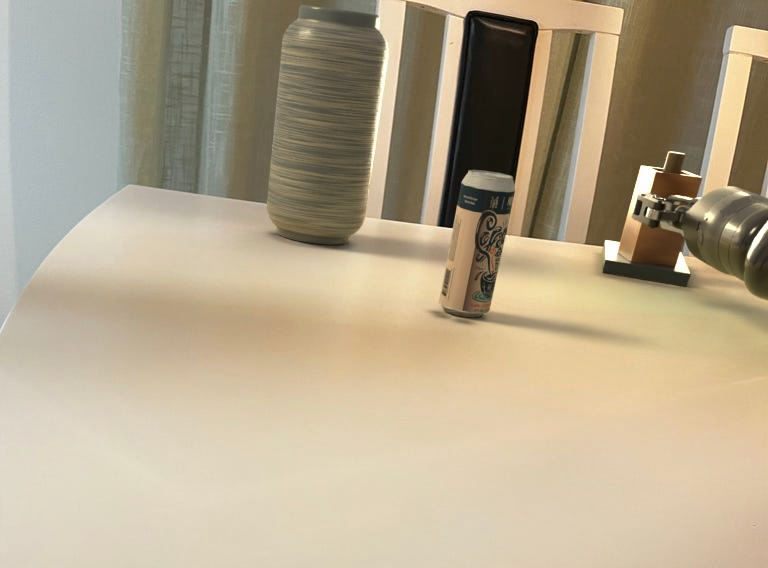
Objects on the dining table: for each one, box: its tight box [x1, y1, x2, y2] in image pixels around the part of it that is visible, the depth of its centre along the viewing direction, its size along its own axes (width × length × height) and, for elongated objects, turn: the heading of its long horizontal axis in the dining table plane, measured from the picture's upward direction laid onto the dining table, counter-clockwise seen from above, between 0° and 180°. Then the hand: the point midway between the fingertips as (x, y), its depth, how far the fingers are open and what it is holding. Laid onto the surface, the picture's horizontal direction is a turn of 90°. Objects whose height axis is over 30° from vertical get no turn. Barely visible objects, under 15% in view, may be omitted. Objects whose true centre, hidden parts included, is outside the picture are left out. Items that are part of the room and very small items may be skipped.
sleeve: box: [617, 165, 703, 267], centre depth 121 cm, size 6×6×10 cm
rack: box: [601, 151, 692, 287], centre depth 123 cm, size 10×16×14 cm, turn 165°
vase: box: [266, 4, 390, 246], centre depth 113 cm, size 12×12×23 cm
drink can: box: [438, 169, 516, 318], centre depth 92 cm, size 5×5×12 cm
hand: (681, 206), depth 115 cm, fingers open, 8 cm apart
